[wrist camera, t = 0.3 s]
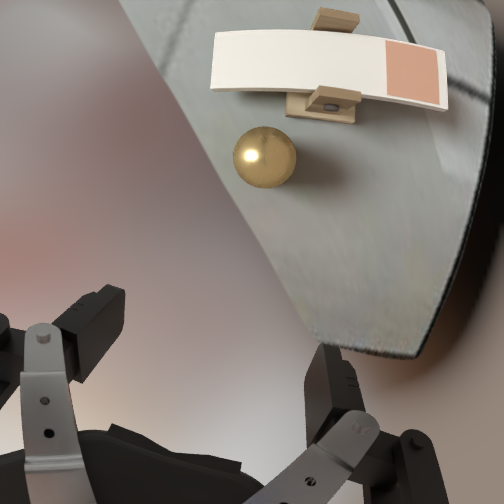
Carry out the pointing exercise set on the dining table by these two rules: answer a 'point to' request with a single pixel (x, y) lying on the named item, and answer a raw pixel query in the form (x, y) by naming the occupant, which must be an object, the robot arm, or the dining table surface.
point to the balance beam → (330, 65)
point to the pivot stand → (324, 97)
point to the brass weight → (264, 157)
